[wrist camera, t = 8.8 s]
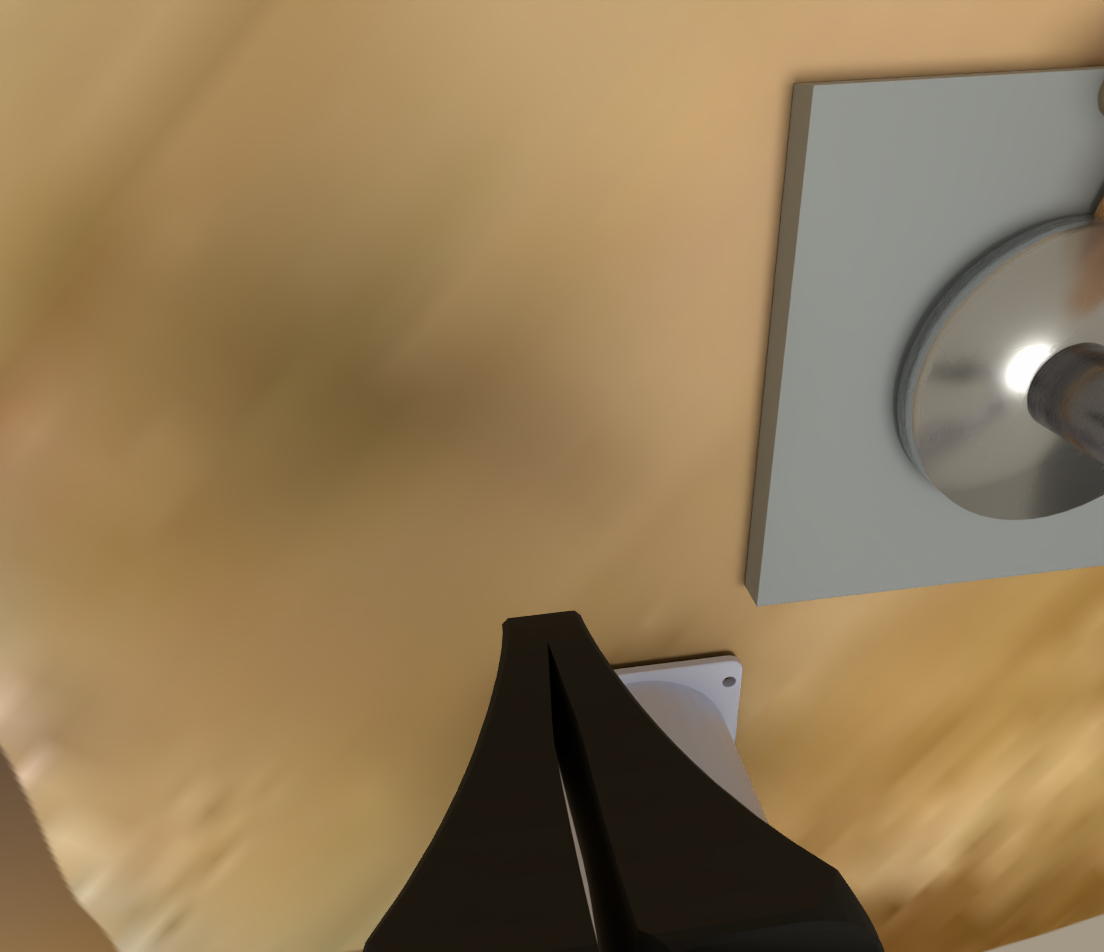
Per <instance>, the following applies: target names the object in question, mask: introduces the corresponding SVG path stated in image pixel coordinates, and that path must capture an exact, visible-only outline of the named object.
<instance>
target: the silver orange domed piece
mask: <svg viewBox="0 0 1104 952" xmlns="http://www.w3.org/2000/svg"><path fill="white" fill-rule="evenodd" d="M897 420H898V426H899V432H900V437H901V440H902V443H903V446H904V449H905V451H906V453H907V455H908V457H909V458H910V460H911V462H912V464H913V465H914V466H915V467H916V468H917V470H918V471H919V472H920V473H921V474H922V475H923V476H924V477H925V478H926V479H927V480H928V481H929V482H931V483H932V484H933V485H934V486H935V487H936V488H937V489H938V490H940V491H941V492H942V493H943V494H944V495H945V496H946V497H948V498H949V499H950V500H951V501H952V502H953V503H955V504H957V505H958V506H960V507H962V508H964V509H965V510H967V511H970V512H972V513H975V514H978V515H980V516H985V517H989V518H994V519H1003V520H1027V519H1035V518H1041V517H1047V516H1051V515H1055V514H1058V513H1062V512H1066V511H1068V510H1071V509H1074V508H1076V507H1079V506H1082V505H1084V504H1086V503H1088V502H1090V501H1092V500H1094V499H1097V498H1099V497H1101V496H1103V495H1104V196H1103V198H1102V200H1101V202H1100V204H1099V206H1098V207H1097V209H1096V211H1095V213H1094V215H1081V216H1074V217H1067V218H1064V219H1060V220H1056V221H1053V222H1049V223H1046V224H1043V225H1041V226H1038V227H1036V228H1033V229H1031V230H1028V231H1026V232H1024V233H1022V234H1020V235H1018V236H1016V237H1015V238H1013V239H1011V240H1009V241H1007V242H1005V243H1004V244H1002V245H1001V246H999V247H998V248H996V249H995V250H993V251H992V252H990V253H989V254H987V255H986V256H985V257H983V258H982V259H981V260H980V261H979V262H977V263H976V264H975V265H974V266H973V267H971V268H970V269H969V270H968V271H967V272H965V273H964V274H963V276H962V277H961V278H960V279H959V280H958V281H957V282H956V283H955V284H954V285H953V286H952V287H951V288H950V289H949V290H948V291H947V292H946V294H945V295H944V296H943V297H942V298H941V300H940V301H939V302H938V303H937V305H936V306H935V307H934V309H933V310H932V312H931V313H930V315H929V316H928V318H927V319H926V321H925V322H924V324H923V325H922V327H921V329H920V331H919V333H918V335H917V337H916V339H915V340H914V342H913V344H912V347H911V349H910V352H909V354H908V357H907V359H906V362H905V365H904V368H903V372H902V376H901V380H900V384H899V392H898V399H897Z"/></svg>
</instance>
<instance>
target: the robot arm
mask: <svg viewBox="0 0 1104 952" xmlns="http://www.w3.org/2000/svg"><path fill="white" fill-rule="evenodd" d="M502 627H503V638H502V649H501V656H500V662H499V667H498V672H497V677H496V681H495V685H494V689H493V693H492V696H491V700H490V704H489V708H488V711H487V714H486V717H485V720H484V723H483V726H482V729H481V732H480V735H479V738H478V741H477V744H476V747H475V749H474V752H473V754H472V757H471V759H470V762H469V764H468V767H467V769H466V772H465V774H464V776H463V779H462V781H461V783H460V785H459V788H458V790H457V792H456V794H455V796H454V798H453V800H452V802H451V804H450V806H449V808H448V810H447V813H446V815H445V817H444V819H443V821H442V823H441V824H440V826H439V828H438V830H437V832H436V834H435V836H434V838H433V839H432V841H431V843H430V845H429V846H428V848H427V850H426V851H425V853H424V855H423V856H422V858H421V860H420V861H419V863H418V865H417V866H416V868H415V870H414V871H413V873H412V875H411V876H410V878H409V880H408V881H407V883H406V885H405V886H404V888H403V889H402V891H401V892H400V894H399V895H398V897H397V898H396V900H395V901H394V902H393V904H392V905H391V907H390V908H389V910H388V911H387V912H386V914H385V915H384V917H383V918H382V920H381V921H380V922H379V924H378V925H377V927H376V928H375V930H374V931H373V932H372V934H371V935H370V937H369V938H368V940H367V941H366V943H365V946H364V949H363V952H884V949H883V946H882V944H881V942H880V940H879V937H878V935H877V932H876V930H875V928H874V926H873V924H872V922H871V920H870V919H869V917H868V915H867V913H866V912H865V910H864V909H863V907H862V905H861V904H860V902H859V901H858V899H857V898H856V896H855V894H854V893H853V891H852V890H851V889H850V887H849V886H848V884H847V883H846V881H845V880H844V878H843V877H842V875H841V874H840V873H839V871H838V870H837V869H835V868H834V867H832V866H830V865H829V864H827V863H826V862H824V861H822V860H821V859H819V858H818V857H816V856H815V855H813V854H811V853H810V852H808V851H807V850H805V849H803V848H802V847H800V846H799V845H797V844H796V843H794V842H793V841H791V840H790V839H788V838H787V837H785V836H784V835H782V834H781V833H780V832H778V831H777V830H776V829H774V828H773V827H771V826H770V825H769V824H768V822H767V819H766V817H765V815H764V812H763V810H762V808H761V805H760V803H759V800H758V798H757V796H756V793H755V791H754V789H753V786H752V784H751V782H750V779H749V777H748V774H747V772H746V770H745V767H744V765H743V763H742V760H741V758H740V756H739V753H738V751H737V748H736V746H735V739H736V729H737V719H738V709H739V700H740V690H741V680H742V671H743V669H742V665H741V663H740V661H739V659H738V658H737V657H735V656H731V655H727V656H719V657H711V658H703V659H695V660H687V661H679V662H671V663H663V664H655V665H646V666H638V667H630V668H622V669H614V670H613V668H612V667H611V665H610V664H609V663H608V661H607V660H606V658H605V657H604V655H603V654H602V652H601V651H600V649H599V647H598V646H597V644H596V643H595V641H594V639H593V638H592V636H591V634H590V633H589V631H588V629H587V627H586V625H585V624H584V622H583V620H582V617H581V615H580V614H578V613H577V612H576V611H565V612H557V613H549V614H540V615H532V616H524V617H515V618H508V619H507V620H506V621H505V622H504V623H503V624H502ZM727 677H730V678H729V679H726V680H724V679H725V678H727Z"/></svg>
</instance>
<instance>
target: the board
mask: <svg viewBox="0 0 1104 952" xmlns="http://www.w3.org/2000/svg"><path fill="white" fill-rule="evenodd" d="M1103 80H1104V66H1093V67H1075V68H1058V69H1040V70H1022V71H1005V72H987V73H970V74H952V75H934V76H917V77H899V78H882V79H864V80H847V81H829V82H811V83H794V89H793V99H792V109H791V119H790V130H789V140H788V150H787V160H786V171H785V181H784V191H783V201H782V211H781V222H780V232H779V242H778V252H777V263H776V273H775V283H774V293H773V303H772V314H771V324H770V334H769V344H768V355H767V365H766V375H765V385H764V395H763V406H762V416H761V426H760V436H759V447H758V457H757V467H756V477H755V487H754V498H753V508H752V518H751V528H750V539H749V549H748V559H747V569H746V579H745V586H746V588H747V590H748V592H749V593H750V595H751V597H752V599H753V600H754V602H755V604H756V606H765V605H773V604H782V603H790V602H799V601H807V600H815V599H824V598H832V597H841V596H849V595H858V594H866V593H875V592H883V591H891V590H900V589H908V588H917V587H925V586H934V585H942V584H950V583H959V582H967V581H976V580H984V579H993V578H1001V577H1009V576H1018V575H1026V574H1035V573H1043V572H1052V571H1060V570H1069V569H1077V568H1085V567H1094V566H1102V565H1104V495H1103V496H1101V497H1099V498H1097V499H1094V500H1092V501H1090V502H1088V503H1086V504H1084V505H1082V506H1079V507H1076V508H1074V509H1071V510H1068V511H1066V512H1062V513H1058V514H1055V515H1051V516H1047V517H1041V518H1035V519H1027V520H1003V519H994V518H989V517H985V516H980V515H978V514H975V513H972V512H970V511H967V510H965V509H964V508H962V507H960V506H958V505H957V504H955V503H953V502H952V501H951V500H950V499H949V498H948V497H946V496H945V495H944V494H943V493H942V492H941V491H940V490H938V489H937V488H936V487H935V486H934V485H933V484H932V483H931V482H929V481H928V480H927V479H926V478H925V477H924V476H923V475H922V474H921V473H920V472H919V471H918V470H917V468H916V467H915V466H914V465H913V464H912V462H911V460H910V458H909V457H908V455H907V453H906V451H905V449H904V446H903V443H902V440H901V437H900V432H899V426H898V420H897V399H898V392H899V384H900V380H901V376H902V372H903V368H904V365H905V362H906V359H907V357H908V354H909V352H910V349H911V347H912V344H913V342H914V340H915V339H916V337H917V335H918V333H919V331H920V329H921V327H922V325H923V324H924V322H925V321H926V319H927V318H928V316H929V315H930V313H931V312H932V310H933V309H934V307H935V306H936V305H937V303H938V302H939V301H940V300H941V298H942V297H943V296H944V295H945V294H946V292H947V291H948V290H949V289H950V288H951V287H952V286H953V285H954V284H955V283H956V282H957V281H958V280H959V279H960V278H961V277H962V276H963V274H964V273H965V272H967V271H968V270H969V269H970V268H971V267H973V266H974V265H975V264H976V263H977V262H979V261H980V260H981V259H982V258H983V257H985V256H986V255H987V254H989V253H990V252H992V251H993V250H995V249H996V248H998V247H999V246H1001V245H1002V244H1004V243H1005V242H1007V241H1009V240H1011V239H1013V238H1015V237H1016V236H1018V235H1020V234H1022V233H1024V232H1026V231H1028V230H1031V229H1033V228H1036V227H1038V226H1041V225H1043V224H1046V223H1049V222H1053V221H1056V220H1060V219H1064V218H1067V217H1074V216H1081V215H1094V213H1095V211H1096V209H1097V207H1098V206H1099V204H1100V202H1101V200H1102V198H1103V196H1104V116H1103V115H1102V113H1101V112H1100V110H1099V107H1098V93H1099V90H1100V87H1101V84H1102V82H1103Z"/></svg>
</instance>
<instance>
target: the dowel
mask: <svg viewBox="0 0 1104 952" xmlns="http://www.w3.org/2000/svg"><path fill="white" fill-rule="evenodd" d="M1098 107H1099V110H1100V112H1101V113H1102V115H1103V116H1104V80H1103V82H1102V84H1101V87H1100V90H1099V93H1098Z"/></svg>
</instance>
